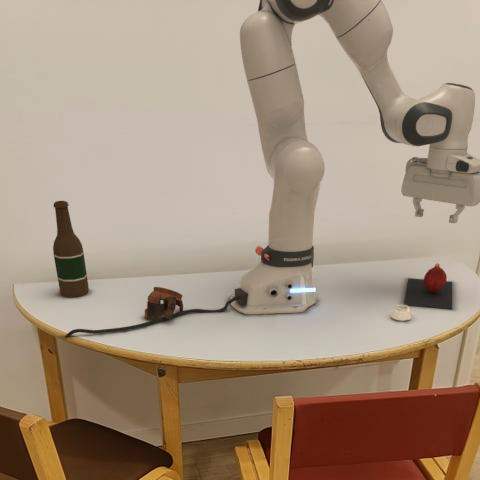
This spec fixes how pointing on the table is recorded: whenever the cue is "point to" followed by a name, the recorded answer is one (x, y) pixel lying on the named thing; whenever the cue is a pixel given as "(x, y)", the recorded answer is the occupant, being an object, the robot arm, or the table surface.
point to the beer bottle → (69, 255)
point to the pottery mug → (168, 306)
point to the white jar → (401, 313)
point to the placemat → (427, 295)
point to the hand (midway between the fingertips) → (435, 219)
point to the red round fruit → (435, 279)
